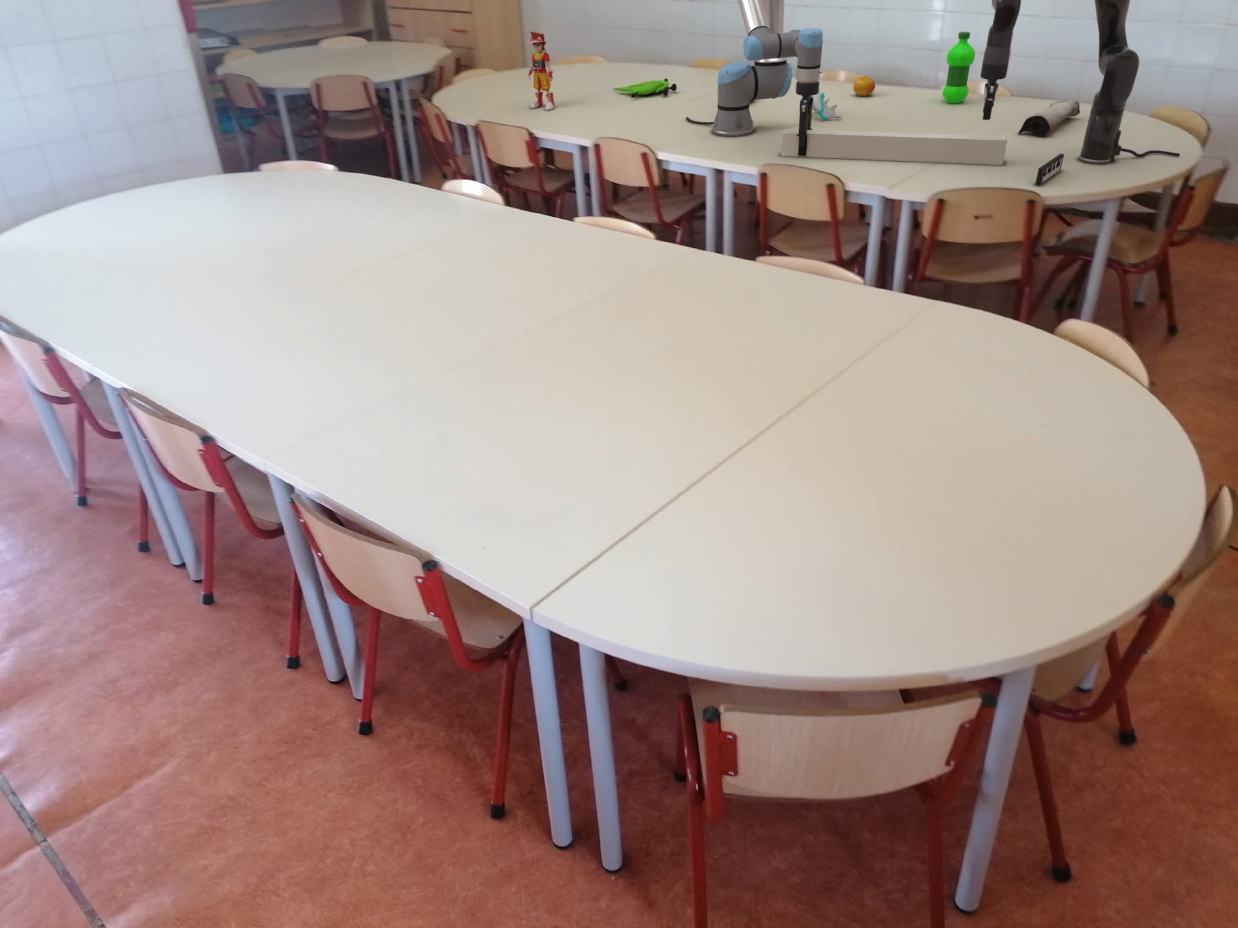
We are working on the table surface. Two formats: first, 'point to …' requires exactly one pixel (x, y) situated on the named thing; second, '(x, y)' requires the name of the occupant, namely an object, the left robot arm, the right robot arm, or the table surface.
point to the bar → (898, 146)
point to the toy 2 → (648, 88)
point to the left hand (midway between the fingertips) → (803, 153)
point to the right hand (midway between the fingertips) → (986, 116)
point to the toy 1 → (541, 71)
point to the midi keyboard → (1049, 169)
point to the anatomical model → (824, 107)
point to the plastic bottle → (958, 69)
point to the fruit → (864, 86)
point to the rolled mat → (1050, 117)
